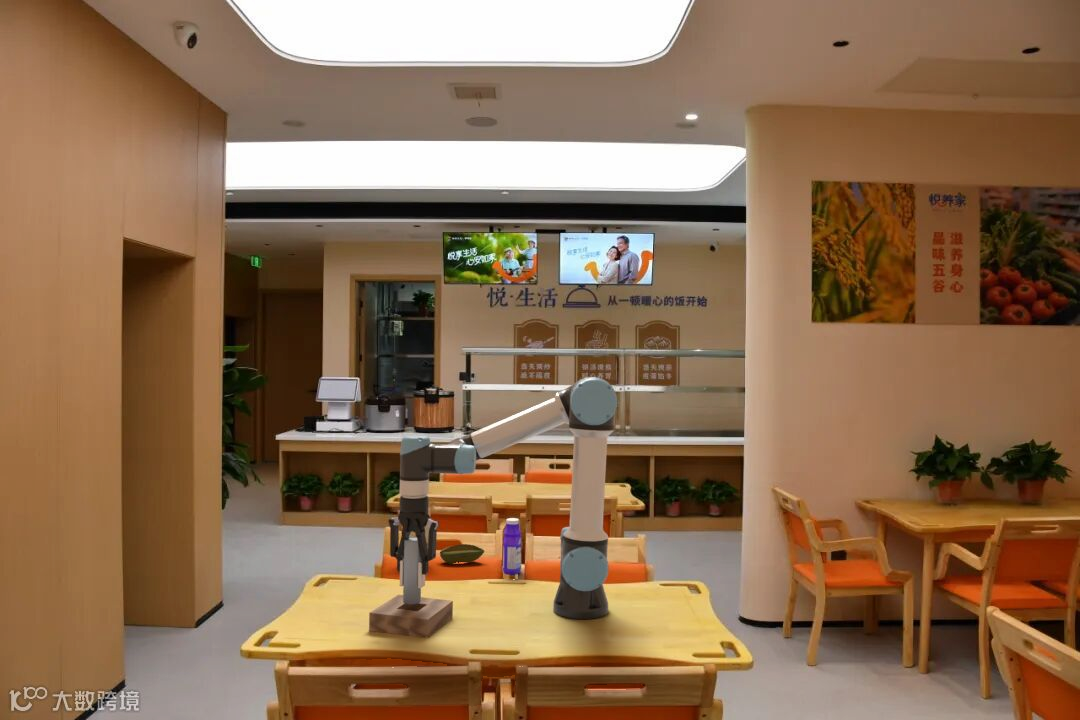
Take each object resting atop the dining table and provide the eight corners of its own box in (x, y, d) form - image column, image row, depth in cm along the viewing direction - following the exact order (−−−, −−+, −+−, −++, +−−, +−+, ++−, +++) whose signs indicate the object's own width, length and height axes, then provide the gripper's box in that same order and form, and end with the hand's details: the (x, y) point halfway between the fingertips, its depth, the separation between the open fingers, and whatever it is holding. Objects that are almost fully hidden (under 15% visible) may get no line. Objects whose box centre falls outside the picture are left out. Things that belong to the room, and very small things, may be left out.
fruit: (460, 557, 272) (460, 538, 272) (485, 563, 264) (485, 543, 264) (436, 563, 263) (436, 544, 263) (461, 570, 255) (462, 549, 255)
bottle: (517, 576, 248) (518, 521, 248) (500, 575, 250) (501, 520, 250) (522, 570, 256) (523, 517, 256) (506, 569, 257) (506, 516, 257)
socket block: (452, 617, 208) (452, 600, 208) (427, 637, 192) (427, 619, 192) (398, 611, 212) (398, 594, 212) (369, 630, 197) (369, 612, 197)
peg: (423, 600, 204) (424, 538, 204) (416, 605, 200) (417, 542, 200) (407, 598, 205) (409, 537, 205) (400, 603, 201) (401, 541, 201)
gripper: (451, 495, 204) (449, 585, 204) (390, 491, 208) (388, 578, 208) (439, 500, 196) (437, 593, 196) (376, 495, 201) (374, 586, 201)
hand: (412, 585), depth 202 cm, fingers closed on peg, 4 cm apart
